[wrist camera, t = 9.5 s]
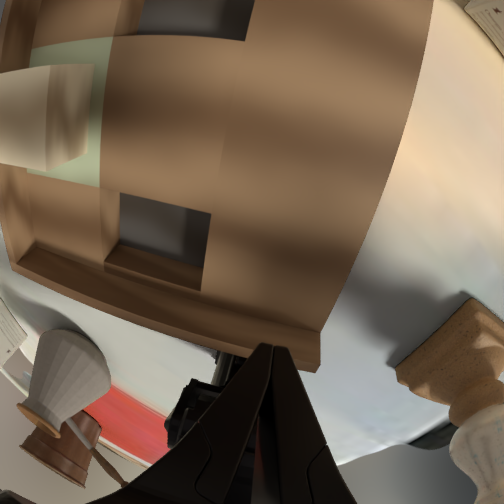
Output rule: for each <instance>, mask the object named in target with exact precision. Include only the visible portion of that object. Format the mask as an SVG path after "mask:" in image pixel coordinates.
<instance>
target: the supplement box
mask: <svg viewBox="0 0 504 504" xmlns="http://www.w3.org/2000/svg"><path fill="white" fill-rule="evenodd" d="M464 10H465V11H466V12H467V13H468V14H469V15H470V16H471V17H472V18H473V19H474V20H475V21H476V22H477V23H478V24H479V26H480V27H481V28H482V29H483V30H484V31H485V32H486V34H487V35H488V36H489V37H490V39H491V40H492V41H493V42H494V44H495V45H496V46H497V48H498V49H499V50H500V52H501V53H502V55H503V56H504V0H471V1H470V2H469V3H468V4H467V5H466V6H465V8H464Z"/></svg>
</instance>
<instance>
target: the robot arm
mask: <svg viewBox="0 0 504 504" xmlns="http://www.w3.org/2000/svg"><path fill="white" fill-rule="evenodd" d="M215 364H216V365H217V366H216V369H215V372H214V375H213V379H212V382H211V384H207V383H204V382H200V381H198V380H197V379H193V378H192V379H191V381H190V383H189V385H186V387H185V388H183V391H182V393H181V396H180V399H179V401H178V403H177V405H176V406H175V408H174V409H173V410H172V412H171V413H170V415H169V416H168V417H167V419H166V420H165V423H164V427H165V429H166V430H167V432H168V443H167V445H168V448H170V449H171V450H170V451H168V452H167V453H166V454H165V455H164V456H163V457H162V458H160V459H159V460H158V461H157V462H156V463H154V464H153V465H152V466H151V467H149V468H148V469H147V470H146V471H144V472H143V473H142V474H140V475H139V476H138V477H137V478H135V479H134V480H133V481H131V482H130V483H128V484H127V485H126V486H124V487H122V488H121V489H119V490H117V491H116V492H114V493H112V494H110V495H107V496H105V497H102V498H99V499H97V500H94V501H92V502H89V503H86V504H357V502H356V501H355V499H354V497H353V495H352V494H351V492H350V490H349V489H348V487H347V485H346V483H345V482H344V480H343V478H342V476H341V474H340V472H339V470H338V468H337V466H336V463H335V461H334V459H333V457H332V454H331V452H330V449H329V447H328V445H326V444H327V442H326V440H325V437H324V435H323V432H322V430H321V427H320V425H319V422H318V420H317V417H316V415H315V412H314V410H313V407H312V405H311V402H310V400H309V397H308V395H307V392H306V390H305V387H304V385H303V382H302V380H301V378H300V375H299V373H298V370H297V368H296V365H295V363H294V360H293V358H292V355H291V353H290V350H289V348H287V347H284V346H279V345H275V346H274V345H273V344H269V343H264V342H260V343H259V344H258V345H257V347H256V348H255V349H254V351H253V352H252V353H251V355H250V356H249V357H248V358H245V357H241V356H237V355H233V354H230V353H226V352H222V351H219V350H217V355H216V360H215ZM0 504H36V503H34V502H32V501H30V500H28V499H26V498H23V497H22V496H20V495H18V494H16V493H14V492H12V491H10V490H3V491H2V490H1V489H0Z"/></svg>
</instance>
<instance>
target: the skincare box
mask: <svg viewBox="0 0 504 504" xmlns="http://www.w3.org/2000/svg"><path fill="white" fill-rule="evenodd" d="M26 338H27V335H26V333H25V332H24V331H23V330H22V328H21V327H20V326H19V324H18V323H17V322H16V320H15V319H14V318H13V316H12V315H11V314H10V312H9V311H8V309H7V308H6V306H5V304H4V303H3V301H2V300H1V299H0V369H1V367H2V366H3V365H4V364H5V363H6V361H7V360H8V359H9V358H10V357H11V355H12V354H13V353H14V352H15V351H16V349H18V347H19V346H20V345H21V344H22V343H23V342H24V341H25V339H26Z"/></svg>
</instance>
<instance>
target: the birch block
mask: <svg viewBox="0 0 504 504" xmlns="http://www.w3.org/2000/svg"><path fill="white" fill-rule="evenodd" d="M94 68H95V64H59V65H47V66H40V67H33V68H27V69H21V70H15V71H10V72H5V73H1V74H0V163H3V164H8V165H13V166H19V167H24V168H29V169H34V170H39V171H44V172H47V171H49V170H51V169H53V168H55V167H57V166H59V165H62V164H64V163H66V162H68V161H70V160H73V159H75V158H77V157H80V156H82V155H84V154H87V141H88V123H89V110H90V100H91V91H92V82H93V75H94Z"/></svg>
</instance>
